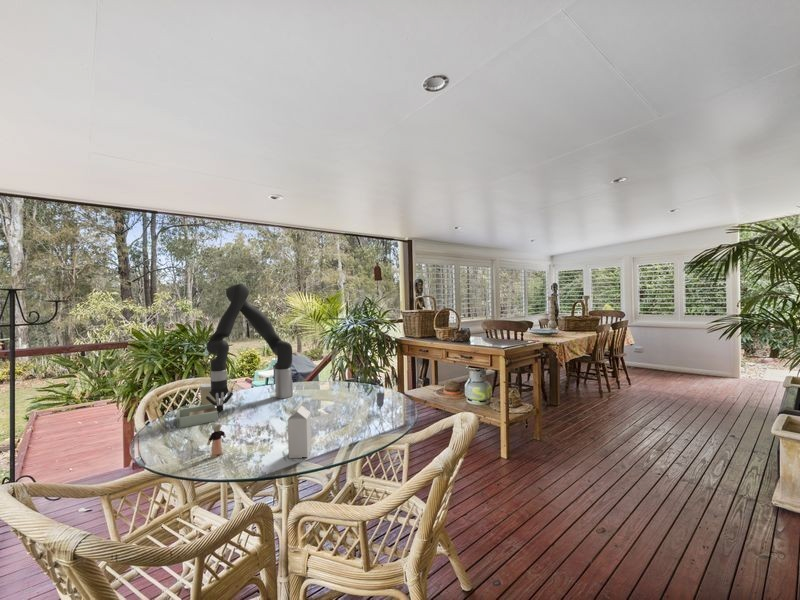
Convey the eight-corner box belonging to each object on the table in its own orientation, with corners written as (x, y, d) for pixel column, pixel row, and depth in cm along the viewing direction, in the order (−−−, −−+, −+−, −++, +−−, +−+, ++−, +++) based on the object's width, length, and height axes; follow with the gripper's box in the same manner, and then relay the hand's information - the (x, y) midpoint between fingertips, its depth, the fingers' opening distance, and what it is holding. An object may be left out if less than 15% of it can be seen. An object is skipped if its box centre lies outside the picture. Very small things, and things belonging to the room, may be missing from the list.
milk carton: (311, 449, 140) (310, 402, 140) (307, 458, 133) (306, 408, 133) (293, 450, 140) (292, 402, 140) (288, 458, 133) (287, 408, 132)
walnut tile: (217, 413, 186) (217, 407, 186) (217, 416, 181) (216, 410, 181) (204, 415, 184) (204, 409, 184) (203, 418, 178) (203, 412, 178)
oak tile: (204, 416, 181) (203, 410, 181) (203, 420, 176) (203, 414, 176) (190, 418, 179) (190, 412, 179) (189, 422, 173) (189, 416, 173)
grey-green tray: (214, 411, 187) (214, 403, 187) (217, 420, 174) (217, 411, 174) (177, 418, 178) (176, 409, 178) (177, 428, 165) (176, 418, 165)
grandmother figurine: (214, 459, 133) (213, 426, 133) (206, 458, 134) (204, 425, 134) (229, 450, 141) (228, 419, 140) (221, 449, 142) (220, 418, 141)
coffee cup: (213, 408, 192) (212, 387, 192) (196, 409, 192) (195, 387, 192) (222, 403, 201) (221, 382, 201) (206, 403, 202) (205, 382, 201)
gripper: (232, 375, 188) (233, 407, 188) (203, 379, 181) (204, 412, 181) (234, 378, 181) (235, 411, 182) (204, 382, 174) (205, 417, 175)
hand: (220, 412), depth 182 cm, fingers closed
